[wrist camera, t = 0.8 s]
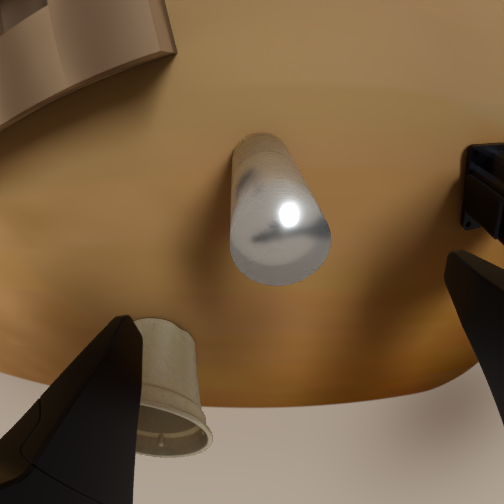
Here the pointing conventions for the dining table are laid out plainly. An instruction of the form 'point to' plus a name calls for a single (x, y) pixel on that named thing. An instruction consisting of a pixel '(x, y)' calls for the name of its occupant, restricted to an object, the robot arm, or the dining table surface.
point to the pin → (274, 215)
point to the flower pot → (169, 393)
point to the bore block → (73, 47)
